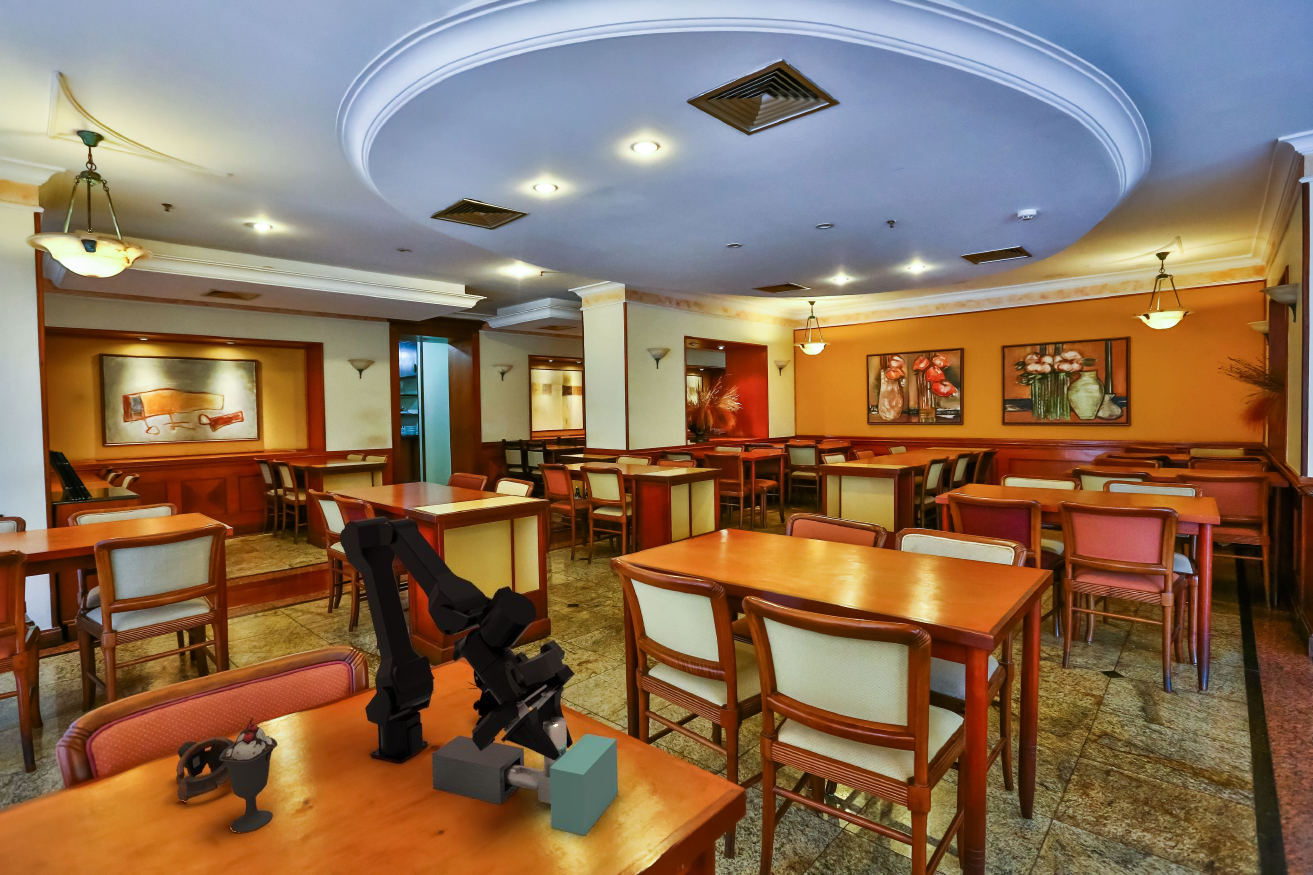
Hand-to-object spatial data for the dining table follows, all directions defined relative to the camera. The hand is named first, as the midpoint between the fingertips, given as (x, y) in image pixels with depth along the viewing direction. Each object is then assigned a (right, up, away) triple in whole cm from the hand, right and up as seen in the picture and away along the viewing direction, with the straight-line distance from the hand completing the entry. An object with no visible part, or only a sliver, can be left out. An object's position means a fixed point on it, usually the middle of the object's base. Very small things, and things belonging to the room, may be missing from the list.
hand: (564, 751), depth 90 cm
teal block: (+3, -8, -1) cm, 8 cm away
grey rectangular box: (-13, -8, +6) cm, 17 cm away
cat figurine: (-17, -8, +27) cm, 32 cm away
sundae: (-42, -9, -2) cm, 43 cm away
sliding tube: (-6, -7, +2) cm, 9 cm away
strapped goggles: (-55, -9, +8) cm, 56 cm away
